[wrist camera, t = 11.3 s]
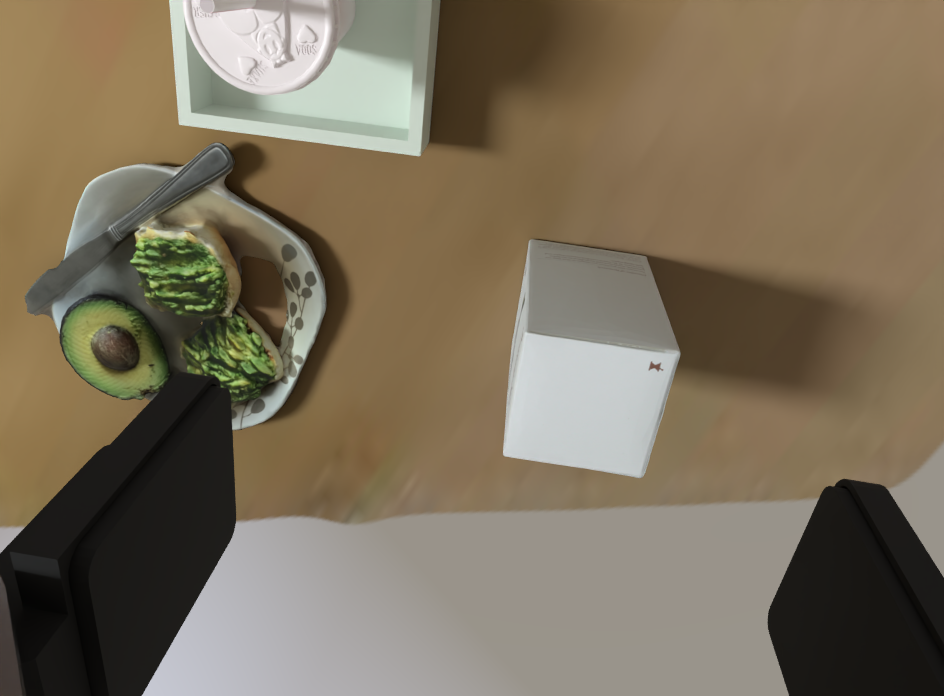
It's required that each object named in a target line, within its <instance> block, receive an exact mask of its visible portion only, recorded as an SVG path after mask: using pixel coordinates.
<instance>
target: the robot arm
mask: <svg viewBox="0 0 944 696" xmlns="http://www.w3.org/2000/svg"><path fill="white" fill-rule="evenodd" d="M235 524H236V503H235V479H234V456H233V433H232V410H231V394H230V391H229V389H228V388H223V387H221V384H220V381H219V379H218V378H216V377H212V376H206V375H200V374H194V373H188V372H179V373H178V374H176V375H175V376H174V377H173V378H172V379H171V380H170V381H169V383H168V384H167V385H166V386H165V387H164V388H163V389H162V390H161V391H160V392H159V393H158V394H157V395H156V396H155V397H154V398H153V400H152V401H151V402H150V403H149V404H148V405H147V406H146V407H145V408H144V409H143V410H142V411H141V412H140V413H139V414H138V415H137V417H136V418H135V419H134V420H133V421H132V422H131V423H130V424H129V425H128V426H127V427H126V428H125V429H124V430H123V431H122V432H121V434H120V435H119V436H118V437H117V438H116V439H115V440H114V441H113V442H112V443H111V444H110V445H107V446H104V447H103V448H102V449H100V450H99V451H98V452H97V453H96V454H95V455H94V456H93V457H92V458H91V459H90V460H89V461H88V462H87V463H86V464H85V465H84V466H83V467H82V468H81V469H80V470H79V471H78V473H77V474H76V475H75V476H74V477H73V478H72V479H71V480H70V481H69V482H68V483H67V484H66V485H65V486H64V487H63V488H62V489H61V490H60V491H59V492H58V494H57V495H56V496H55V497H54V498H53V499H52V500H51V501H50V502H49V503H48V504H47V505H46V506H45V507H44V508H43V509H42V510H41V511H40V512H39V513H38V514H37V516H36V517H35V518H34V519H33V520H32V521H31V522H30V523H29V524H28V525H27V526H26V527H25V528H24V529H23V530H22V531H21V532H20V533H19V534H18V536H16V538H15V539H14V540H13V541H12V542H11V543H10V544H9V545H8V546H7V547H6V548H5V549H4V550H3V551H2V552H1V553H0V696H142V694H143V693H144V691H145V689H146V687H147V686H148V684H149V682H150V680H151V679H152V677H153V675H154V673H155V671H156V670H157V668H158V666H159V664H160V663H161V661H162V659H163V657H164V656H165V654H166V652H167V651H168V649H169V647H170V645H171V643H172V642H173V640H174V638H175V637H176V635H177V633H178V631H179V630H180V628H181V626H182V624H183V623H184V621H185V619H186V617H187V615H188V614H189V612H190V610H191V608H192V607H193V605H194V603H195V602H196V600H197V598H198V596H199V594H200V593H201V591H202V589H203V588H204V586H205V584H206V582H207V580H208V579H209V577H210V575H211V574H212V572H213V570H214V568H215V567H216V565H217V563H218V561H219V559H220V558H221V556H222V554H223V553H224V551H225V549H226V547H227V545H228V544H229V542H230V540H231V538H232V535H233V533H234V528H235ZM768 630H769V634H770V637H771V640H772V643H773V646H774V650H775V653H776V656H777V659H778V662H779V665H780V668H781V671H782V674H783V678H784V681H785V684H786V687H787V690H788V693H789V696H944V577H943V576H942V574H941V573H940V571H939V569H938V568H937V566H936V565H935V563H934V562H933V560H932V559H931V557H930V555H929V554H928V552H927V551H926V549H925V547H924V546H923V544H922V543H921V541H920V540H919V538H918V537H917V535H916V533H915V532H914V530H913V529H912V527H911V526H910V524H909V522H908V521H907V519H906V518H905V516H904V515H903V513H902V511H901V510H900V508H899V507H898V505H897V504H896V502H895V500H894V499H893V497H892V496H891V494H890V493H889V491H888V490H887V489H886V488H885V487H884V486H882V485H879V484H873V483H867V482H861V481H855V480H848V479H842V480H840V481H838V482H837V483H836V485H835V486H834V487H833V486H828V487H826V488H825V489H824V490H823V492H822V493H821V496H820V498H819V500H818V502H817V505H816V507H815V509H814V511H813V513H812V516H811V518H810V520H809V522H808V525H807V527H806V529H805V531H804V533H803V535H802V538H801V540H800V542H799V544H798V546H797V549H796V551H795V553H794V555H793V557H792V560H791V562H790V564H789V567H788V568H787V571H786V573H785V575H784V577H783V580H782V582H781V584H780V586H779V588H778V591H777V593H776V595H775V597H774V599H773V602H772V604H771V606H770V609H769V613H768Z"/></svg>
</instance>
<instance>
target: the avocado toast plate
mask: <svg viewBox="0 0 944 696" xmlns="http://www.w3.org/2000/svg"><path fill="white" fill-rule="evenodd" d="M234 164H235V160H234V157H233V154H232V153H231V151H230V150H229V148H228V147H227V146H226V145H224V144H222V143H212V144H211V145H209V146H208V147H206V148H205V149H204V150H203V151H201V152H200V153H199V154H198V155H197V156H196V157H194V158H193V159H192V160H191V161H190V162H188V163H187V164H186V165H184V166H182V167H171V166H161V165H155V164H147V163H142V164H136V165H131V166H126V167H121V168H119V169H116V170H113V171H110V172H108V173H105V174H103V175H100V176H99V177H97V178H95V179H94V180H92V181H91V182H90V183H89V184H88V185H87V186H86V188H85V190H84V193H83V195H82V197H81V199H80V201H79V203H78V205H77V209H76V212H75V216H74V220H73V223H72V228H71V231H70V235H69V238H68V242H67V247H66V253H65V258H64V260H63V261H61V263H60V265H59V266H58V267H57V268H54V269H49V270H47V271H46V272H45V273H44V274H43V275H42V276H41V277H40V278H39V279H38V280H37V281H36V282H35V283H34V284H33V286H31V288H30V289H29V290H28V292H27V293H26V295H25V301H26V304H27V310H28V311H27V312H28V313H30V314H34V315H35V316H36V315H40V314H45V315H48V316H50V317H51V318H52V319H53V321H54V322H55V325H56V327H57V329H58V332H59V334H60V337H59V338H60V344H61V347H62V351H63V353H64V356H65V358H66V360H67V361H68V362H69V364H70V365H71V366H72V368H73V369H74V370H75V372H76V373H77V374H78V375H79V376H80V377H81V378H82V379H84V380H85V381H86V382H87V383H89V384H90V385H91V386H93V387H95V388H96V389H98V390H100V391H102V392H104V393H106V394H108V395H110V396H112V397H116V398H119V399H121V400H130V399H134V398H135V399H139V400H142V399H143V398H146V399H148V400H150V401H152V400H153V398H154V397H155V396H156V395H157V394H158V393H159V392H160V391H161V390H162V389H163V388H164V387H165V386H166V385H167V384H168V383H169V381H170V380H171V379H172V378H173V377H174V376H175V375H176V374H178V373H179V372H188V373H194V374H200V375H206V376H212V377H216V378H218V379H219V381H220V384H221V387H223V388H228V389H229V391H230V394H231V410H232V430H242V429H245V428H248V427H251V426H254V425H257V424H260V423H263V422H265V421H266V420H268V419H270V418H271V417H273V416H274V415H275V414H276V413H277V412H278V411H279V409H280V408H281V407H282V406H283V405H284V404H285V403H286V401H287V400H288V398H289V396H290V395H291V394H292V392H293V390H294V388H295V386H296V385H297V381H298V378H299V374H300V372H301V370H302V368H303V366H304V364H305V362H306V359H307V357H308V355H309V352H310V350H311V348H312V346H313V344H314V342H315V340H316V336H317V335H318V332H319V329H320V326H321V323H322V320H323V317H324V314H325V311H326V308H327V303H326V299H327V297H326V290H325V279H324V277H323V275H322V272H321V270H320V267H319V265H318V262H317V261H316V259H315V257H314V254H313V252H312V249H311V247H310V246H309V245H308V243H307V242H305V241H304V240H303V239H302V238H301V237H299V236H298V235H297V234H296V233H295V232H293V231H291V230H290V229H289V228H287V227H286V226H285V225H283V224H282V223H280V222H279V221H277V220H276V219H274V218H273V217H271V216H270V215H268V214H267V213H265V212H263V211H262V210H260V209H259V208H257V207H254V206H252V205H250V204H248V203H246V202H245V201H243V200H242V199H241V198H239V197H238V196H237V195H235V194H233V193H232V192H231V191H230V190H229V189H228V188H227V187H226V186H225V184H224V180H225V178H226V176H227V174H229V173H230V172H231V171H232V170H233V167H234ZM136 249H137V250H136ZM135 250H136V252H135ZM242 256H250V257H257V258H261V259H264V260H267V261H270V262H272V263H274V265H275V267H276V269H277V271H278V273H279V275H280V277H281V279H282V281H283V284H284V290H285V294H286V297H287V304H288V310H287V314H286V316H287V322H286V325H285V327H284V331H283V335H282V338H281V341H280V344H279V346H278V347H277V346H275V345H274V344H273V342H272V340H271V337H270V335H269V334H268V333H267V332H265V331H264V330H263V328H262V327H261V326H260V325H259V324H258V323H257V322H256V321H255V320H254V319H253V318H252V317H251V316H250V315H249V314H248V312H247V311H246V309H245V307H244V306H243V305H242V304H241V303H240V301H239V295H240V292H241V279H240V275H242V269H241V264H240V259H241V258H242ZM202 321H203V324H202V325H201V324H200V323H201V322H202Z"/></svg>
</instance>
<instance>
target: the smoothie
mask: <svg viewBox="0 0 944 696" xmlns="http://www.w3.org/2000/svg"><path fill="white" fill-rule="evenodd" d="M183 11H184V17H185V22H186V25H187V29H188V32H189V34H190V37H191V39H192V41H193V43H194V45H195V47H196V49H197V51H198V52H199V54H200V55H201V57H202V58H203V59H204V61H205V62H206V63H207V64H208V66H209V67H210V68H211V69H212V70H213V71H214V72H215V73H216V74H218V75H219V76H220V77H221V78H222V79H224V80H225V81H227V82H228V83H230V84H232V85H233V86H235V87H237V88H239V89H242V90H244V91H247V92H250V93H254V94H260V95H278V94H286V93H289V92H292V91H296V90H299V89H302V88H304V87H305V86H307V85H308V84H310V83H311V82H313V81H314V80H316V79H317V78H318V77H319V76H320V75H321V74H322V72H323V71H324V70H325V69H326V68H327V66H328V65H329V64H330V62H331V60H332V57H333V55H334V53H335V50H336V48H337V46H338V43H339V41H340V40H341V39H342V38H343V37H344V36H345V34H346V33H347V32H348V31H349V29H350V28H351V26H352V24H353V21H354V18H355V12H356V4H355V0H183Z"/></svg>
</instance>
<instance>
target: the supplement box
mask: <svg viewBox="0 0 944 696" xmlns="http://www.w3.org/2000/svg"><path fill="white" fill-rule="evenodd" d="M680 355H681V353H680V350H679V347H678V344H677V341H676V338H675V335H674V333H673V330H672V327H671V324H670V321H669V319H668V316H667V313H666V310H665V308H664V305H663V302H662V299H661V296H660V294H659V291H658V288H657V285H656V283H655V280H654V277H653V274H652V271H651V268H650V266H649V263H648V260H647V257H646V256H642V255H636V254H629V253H622V252H615V251H609V250H603V249H596V248H589V247H583V246H576V245H569V244H563V243H555V242H549V241H542V240H534V239H532V240H530V241H529V246H528V253H527V260H526V266H525V271H524V277H523V283H522V288H521V294H520V300H519V306H518V312H517V318H516V324H515V330H514V335H513V340H512V349H511V360H510V371H509V382H508V394H507V408H506V423H505V436H504V448H503V455H504V456H506V457H513V458H519V459H525V460H532V461H539V462H546V463H552V464H558V465H565V466H572V467H579V468H586V469H592V470H597V471H603V472H608V473H614V474H620V475H626V476H632V477H637V478H642V477H643V476H644V474H645V472H646V468H647V465H648V462H649V458H650V454H651V451H652V448H653V444H654V441H655V437H656V434H657V431H658V427H659V424H660V421H661V419H662V416H663V413H664V408H665V404H666V400H667V397H668V394H669V390H670V387H671V383H672V380H673V377H674V374H675V370H676V367H677V364H678V361H679V358H680Z"/></svg>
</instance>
